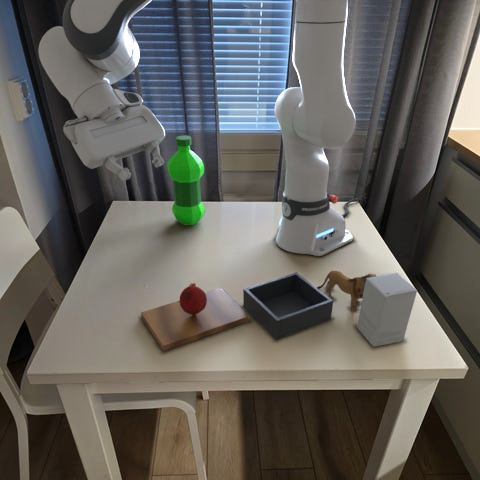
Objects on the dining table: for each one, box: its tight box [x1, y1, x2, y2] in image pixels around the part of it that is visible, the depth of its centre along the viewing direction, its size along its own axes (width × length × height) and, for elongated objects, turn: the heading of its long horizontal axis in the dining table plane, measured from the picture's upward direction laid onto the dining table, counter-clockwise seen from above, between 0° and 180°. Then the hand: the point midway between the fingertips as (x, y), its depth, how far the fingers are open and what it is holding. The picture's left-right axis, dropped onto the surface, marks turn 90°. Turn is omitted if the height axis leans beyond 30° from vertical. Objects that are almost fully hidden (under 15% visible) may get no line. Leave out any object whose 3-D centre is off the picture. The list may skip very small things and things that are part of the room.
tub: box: [242, 271, 334, 341], centre depth 100 cm, size 15×14×5 cm
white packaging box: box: [356, 272, 418, 348], centre depth 92 cm, size 7×7×13 cm
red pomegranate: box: [179, 282, 207, 315], centre depth 96 cm, size 6×6×8 cm
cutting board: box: [140, 287, 250, 352], centre depth 99 cm, size 20×13×2 cm, turn 120°
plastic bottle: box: [166, 135, 206, 226], centre depth 131 cm, size 10×10×25 cm
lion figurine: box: [316, 269, 377, 312], centre depth 103 cm, size 15×5×9 cm, turn 54°
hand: (144, 171), depth 90 cm, fingers open, 8 cm apart
